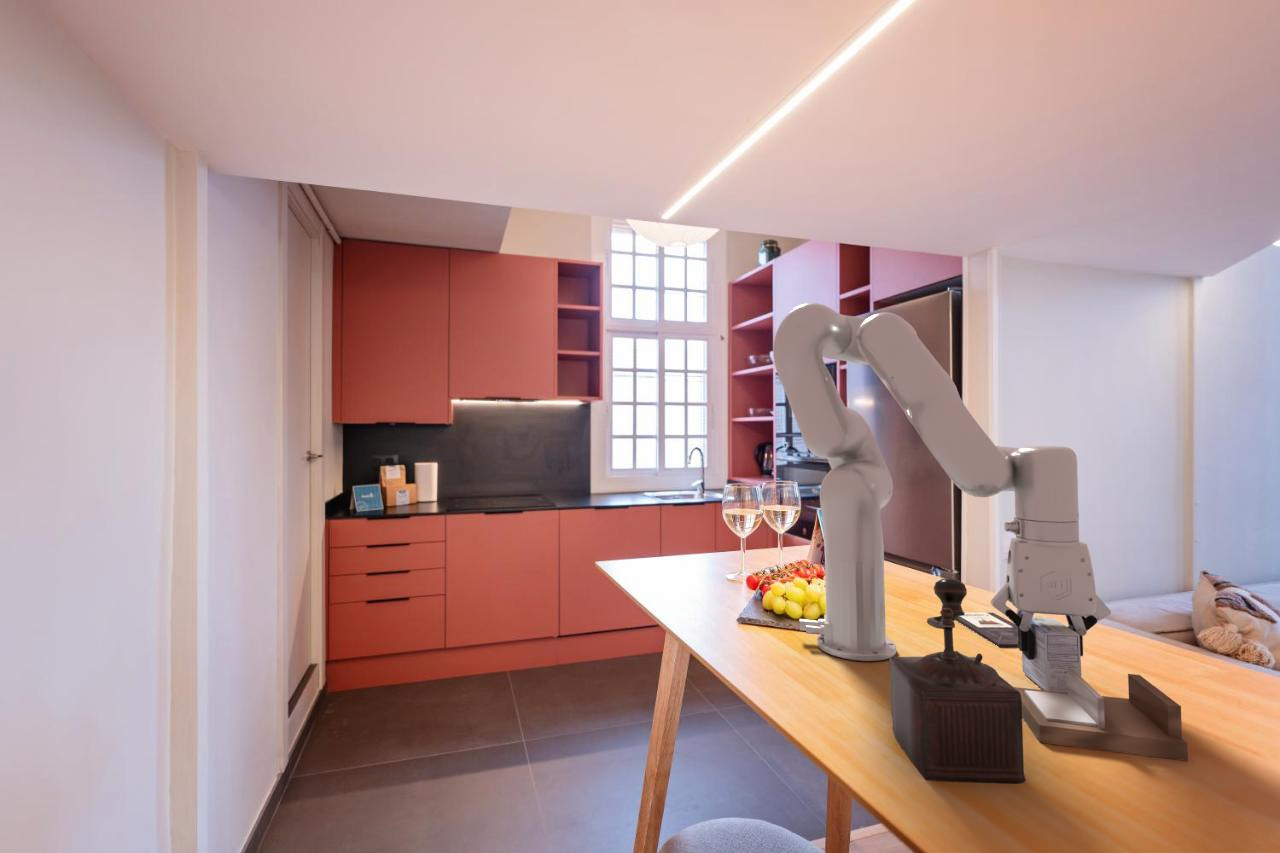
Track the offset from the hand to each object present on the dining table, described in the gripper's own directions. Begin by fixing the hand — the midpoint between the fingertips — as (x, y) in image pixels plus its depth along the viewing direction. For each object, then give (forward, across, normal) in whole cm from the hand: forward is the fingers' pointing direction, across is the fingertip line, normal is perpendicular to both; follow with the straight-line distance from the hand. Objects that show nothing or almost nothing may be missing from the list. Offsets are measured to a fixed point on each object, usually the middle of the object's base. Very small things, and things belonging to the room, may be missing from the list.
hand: (1050, 657), depth 84 cm
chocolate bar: (+5, -1, +25) cm, 25 cm away
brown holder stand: (+4, 0, -13) cm, 14 cm away
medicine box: (+4, 0, 0) cm, 4 cm away
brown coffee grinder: (+4, -17, -22) cm, 28 cm away
